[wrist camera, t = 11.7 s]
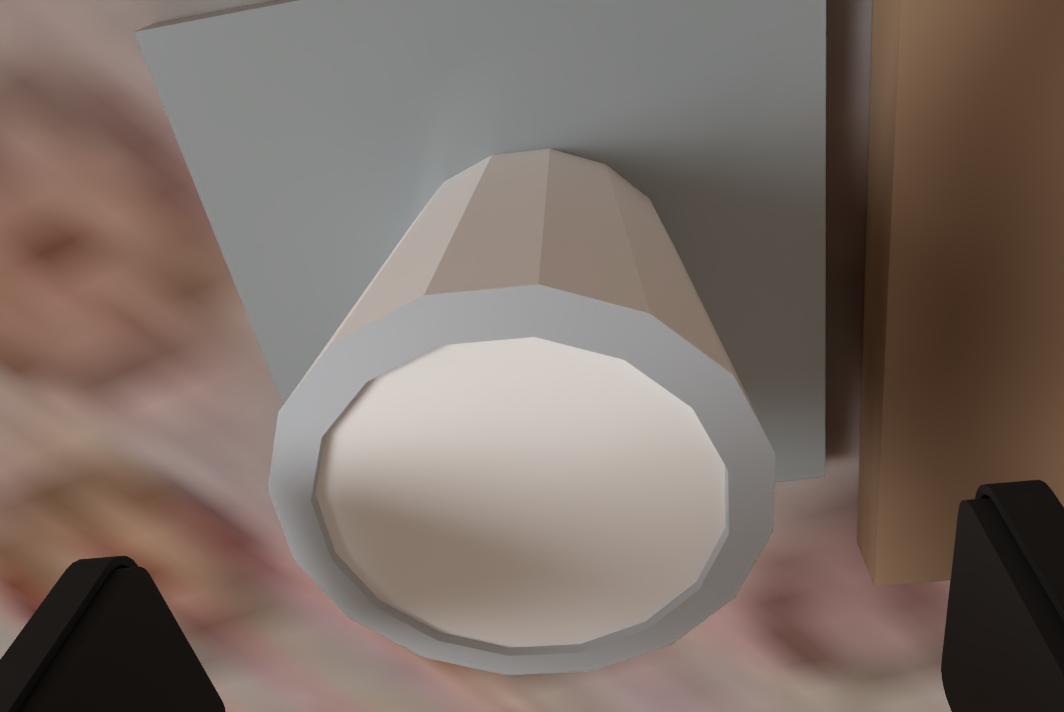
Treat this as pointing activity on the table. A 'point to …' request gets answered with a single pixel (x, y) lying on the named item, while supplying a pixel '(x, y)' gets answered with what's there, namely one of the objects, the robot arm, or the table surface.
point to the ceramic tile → (507, 127)
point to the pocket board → (959, 271)
